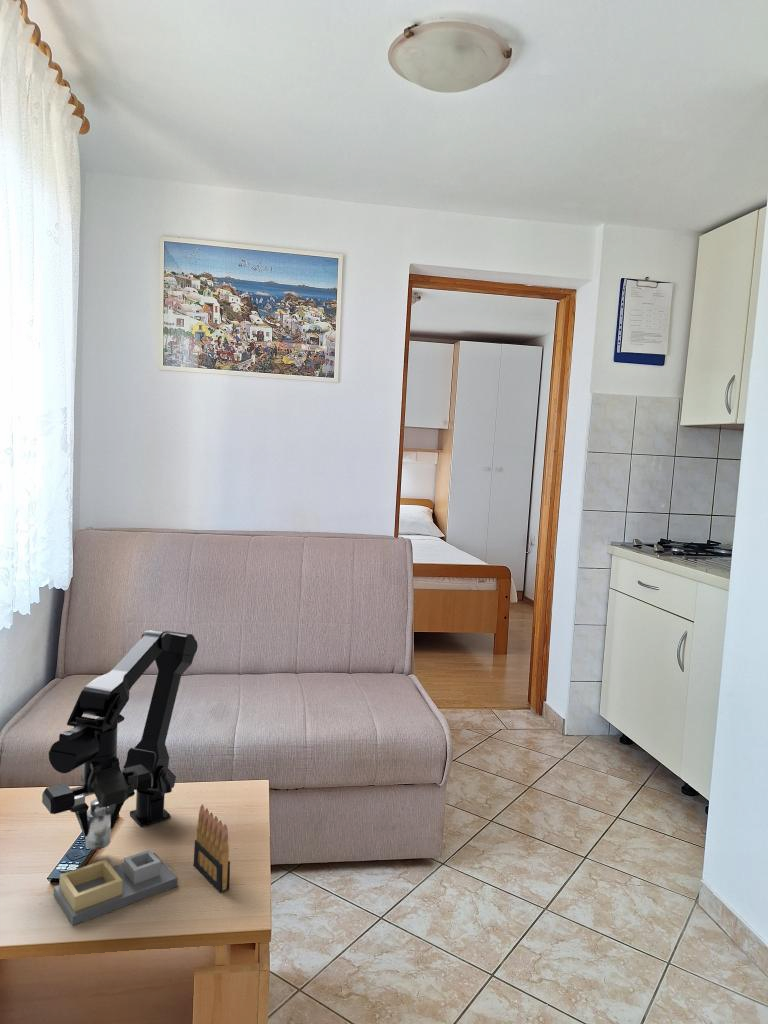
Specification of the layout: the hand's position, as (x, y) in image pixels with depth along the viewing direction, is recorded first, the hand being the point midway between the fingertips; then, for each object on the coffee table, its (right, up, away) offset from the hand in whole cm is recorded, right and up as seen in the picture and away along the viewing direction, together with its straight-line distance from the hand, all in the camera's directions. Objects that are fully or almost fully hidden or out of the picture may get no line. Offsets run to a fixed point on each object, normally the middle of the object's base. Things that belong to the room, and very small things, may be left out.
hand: (98, 831), depth 133 cm
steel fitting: (0, -2, 0) cm, 2 cm away
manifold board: (+7, -6, -9) cm, 13 cm away
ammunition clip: (+22, -7, -4) cm, 24 cm away
